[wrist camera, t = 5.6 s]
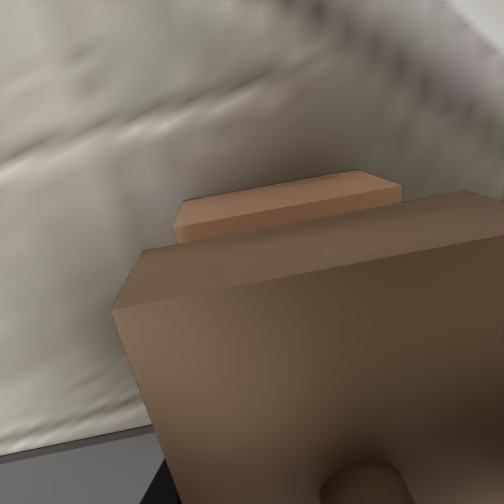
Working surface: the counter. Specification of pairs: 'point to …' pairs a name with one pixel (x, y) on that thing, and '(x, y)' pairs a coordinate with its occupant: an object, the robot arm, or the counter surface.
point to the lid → (328, 357)
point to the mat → (84, 470)
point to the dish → (282, 204)
